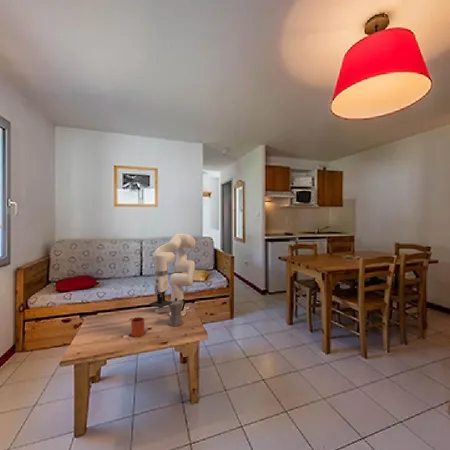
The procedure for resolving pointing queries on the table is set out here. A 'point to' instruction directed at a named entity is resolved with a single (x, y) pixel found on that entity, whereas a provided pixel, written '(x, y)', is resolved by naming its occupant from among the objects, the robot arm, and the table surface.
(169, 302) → the peg on square base
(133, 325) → the cup
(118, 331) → the table surface
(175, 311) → the coffeepot
